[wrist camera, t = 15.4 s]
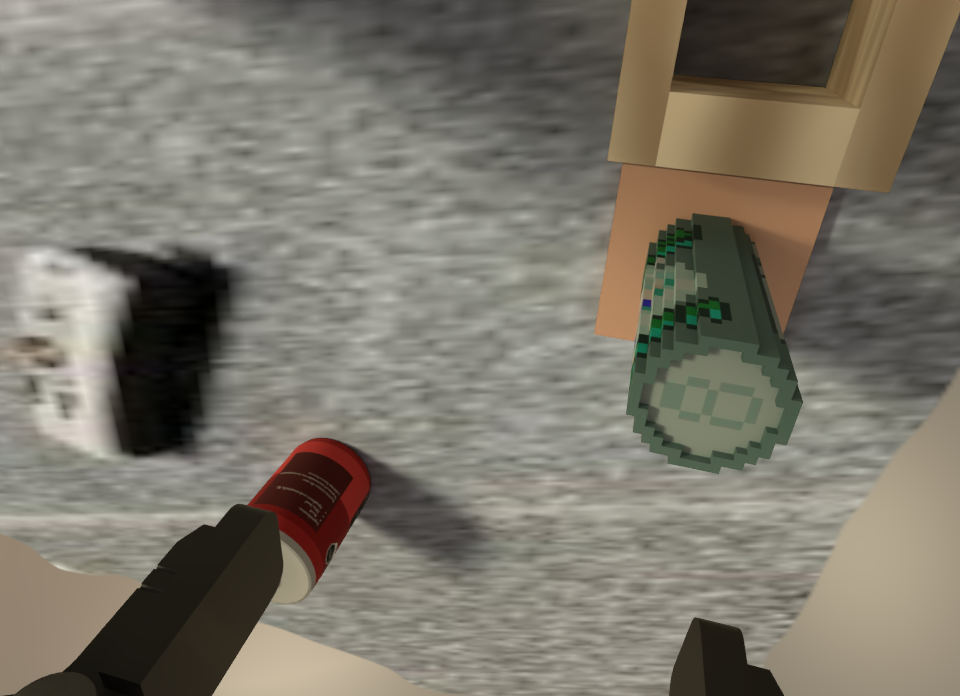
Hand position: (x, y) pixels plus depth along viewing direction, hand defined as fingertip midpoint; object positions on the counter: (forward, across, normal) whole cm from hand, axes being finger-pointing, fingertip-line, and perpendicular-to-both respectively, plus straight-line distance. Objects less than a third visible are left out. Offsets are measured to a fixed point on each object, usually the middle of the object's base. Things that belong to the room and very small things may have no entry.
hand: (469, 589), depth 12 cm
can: (+29, -7, +4) cm, 30 cm away
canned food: (+30, +18, +28) cm, 45 cm away
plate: (+29, -7, +4) cm, 30 cm away
